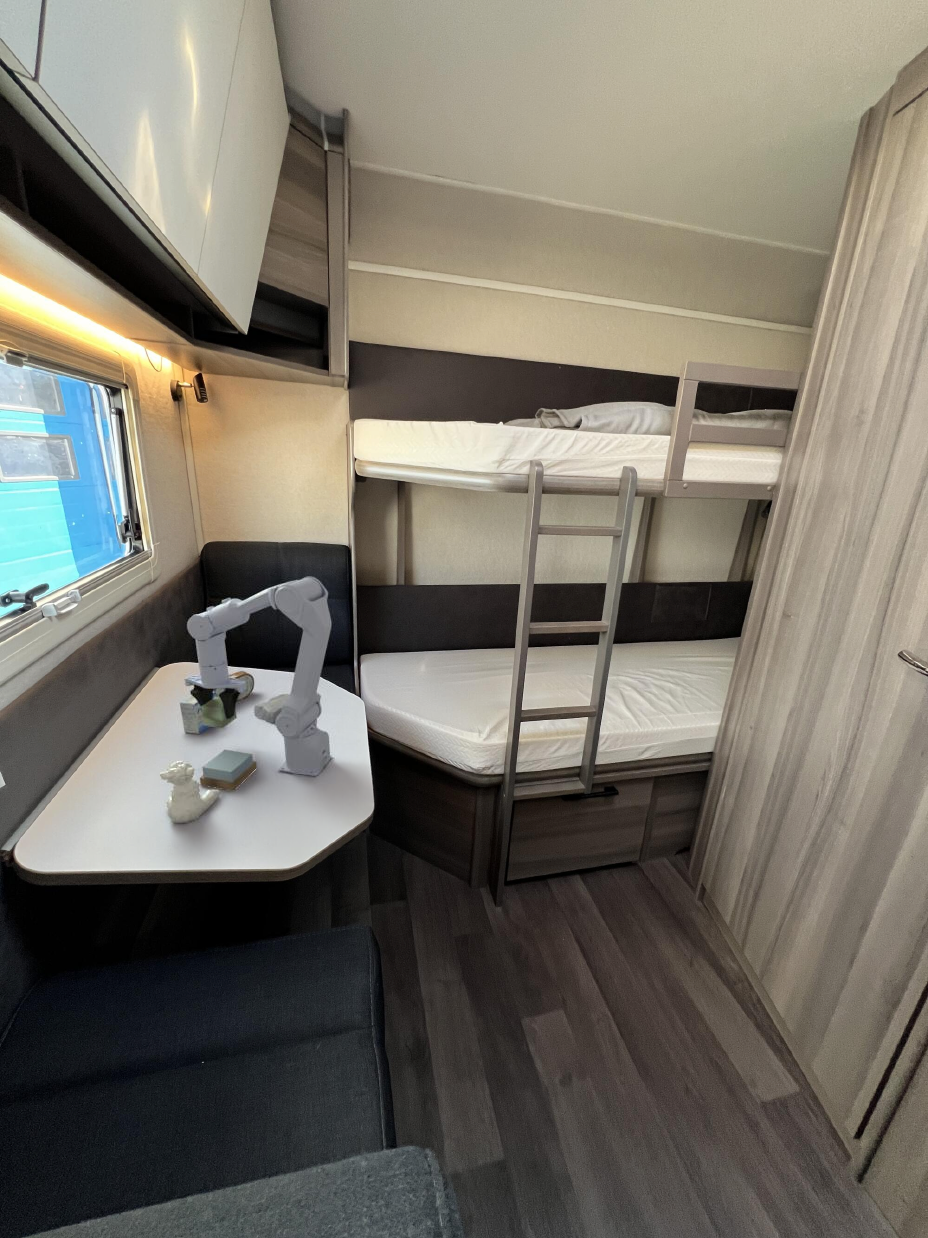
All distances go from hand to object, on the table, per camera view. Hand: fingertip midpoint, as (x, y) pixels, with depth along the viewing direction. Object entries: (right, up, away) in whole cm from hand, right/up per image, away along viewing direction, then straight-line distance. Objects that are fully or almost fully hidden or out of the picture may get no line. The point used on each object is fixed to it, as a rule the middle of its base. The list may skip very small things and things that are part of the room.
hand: (219, 715), depth 110 cm
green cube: (0, -2, 0) cm, 2 cm away
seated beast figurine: (+4, -16, -18) cm, 24 cm away
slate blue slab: (+6, -10, -8) cm, 15 cm away
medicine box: (-12, -6, +13) cm, 18 cm away
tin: (-10, -2, +26) cm, 28 cm away
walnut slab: (+6, -13, -7) cm, 16 cm away
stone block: (+5, -4, +22) cm, 23 cm away
